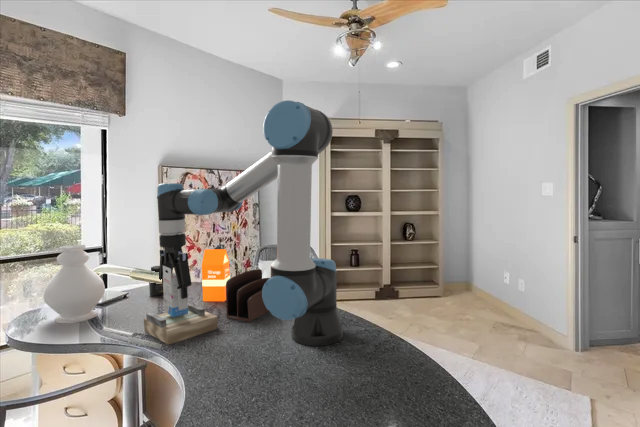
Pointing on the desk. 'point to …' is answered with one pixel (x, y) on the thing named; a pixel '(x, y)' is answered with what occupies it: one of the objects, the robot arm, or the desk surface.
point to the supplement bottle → (156, 285)
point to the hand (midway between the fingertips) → (175, 305)
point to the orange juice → (215, 274)
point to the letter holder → (245, 296)
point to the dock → (180, 324)
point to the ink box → (171, 293)
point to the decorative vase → (74, 287)
